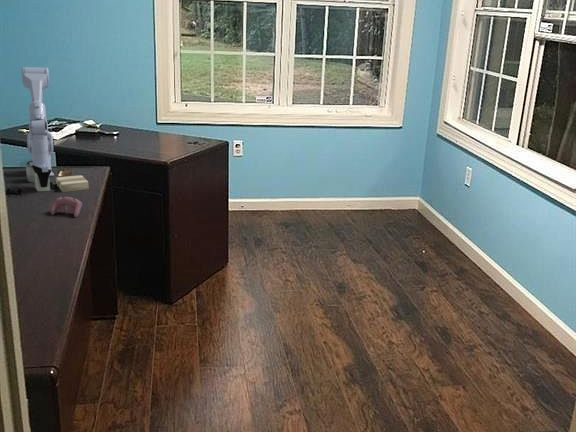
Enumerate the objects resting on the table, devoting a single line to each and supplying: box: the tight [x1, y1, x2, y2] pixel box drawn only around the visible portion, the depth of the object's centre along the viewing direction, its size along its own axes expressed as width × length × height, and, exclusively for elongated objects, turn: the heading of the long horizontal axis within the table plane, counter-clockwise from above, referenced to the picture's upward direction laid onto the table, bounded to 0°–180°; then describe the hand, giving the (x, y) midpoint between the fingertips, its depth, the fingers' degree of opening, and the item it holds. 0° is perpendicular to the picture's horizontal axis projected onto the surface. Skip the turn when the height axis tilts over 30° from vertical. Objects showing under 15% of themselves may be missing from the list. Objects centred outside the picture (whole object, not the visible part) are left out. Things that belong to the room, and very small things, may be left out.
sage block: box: [34, 173, 51, 192], centre depth 234 cm, size 4×4×6 cm
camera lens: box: [25, 160, 35, 184], centre depth 243 cm, size 6×6×8 cm
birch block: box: [55, 174, 90, 193], centre depth 239 cm, size 10×10×3 cm
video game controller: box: [50, 196, 83, 218], centre depth 211 cm, size 10×5×7 cm, turn 85°
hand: (42, 185), depth 234 cm, fingers closed on sage block, 4 cm apart
